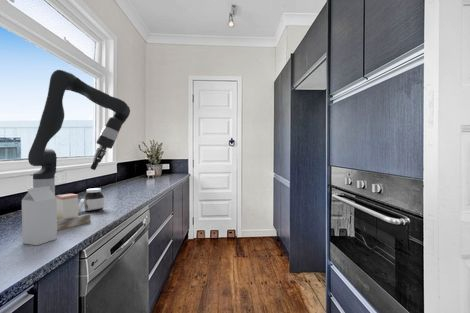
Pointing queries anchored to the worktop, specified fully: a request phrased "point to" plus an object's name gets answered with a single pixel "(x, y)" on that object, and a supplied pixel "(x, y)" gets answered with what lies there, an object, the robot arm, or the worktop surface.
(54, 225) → the milk carton
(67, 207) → the pink-topped white box
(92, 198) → the spread jar
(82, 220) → the track
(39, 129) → the robot arm
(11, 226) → the worktop surface
